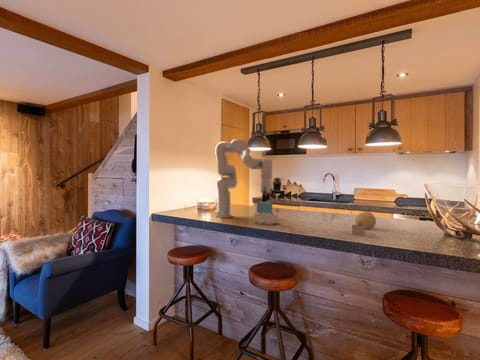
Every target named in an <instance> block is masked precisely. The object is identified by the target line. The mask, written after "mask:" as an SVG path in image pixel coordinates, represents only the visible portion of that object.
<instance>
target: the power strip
mask: <svg viewBox="0 0 480 360" xmlns="http://www.w3.org/2000/svg"><path fill="white" fill-rule="evenodd" d="M272 213H273V214H271V213H262V214H261V213H260V212H257V211H256V212H254V214H253V215H254V218H253V219H254V221H253V222H267V223H276V224H277V223H278V222H279V213H278V212H272Z"/></svg>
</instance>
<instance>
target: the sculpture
mask: <svg viewBox="0 0 480 360" xmlns="http://www.w3.org/2000/svg"><path fill="white" fill-rule="evenodd" d="M359 222H362V225H364V226H365V230H366V229H367V230H372V229H373V228H375V226H376V224H377V217H375V215H374V214H373V213H372V212H370V211H363V212H359V213H358V214H357V216H356V217H355V225H359Z"/></svg>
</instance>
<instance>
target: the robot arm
mask: <svg viewBox="0 0 480 360" xmlns="http://www.w3.org/2000/svg"><path fill="white" fill-rule="evenodd" d="M248 145H249V144H248V143H247V140H243V139H239V138H238V139H237V138H236V139H232V140H231V142H229V141H220V142H219V143H217V145H216V146H215V157H216V165H217V173H218V175H219V176H221V177H220V178H218V180H217V181H216V185H217V192H218V210H214V211H213V212H214V214H216V217H217V218H222V219H223V218H231V217H233V214H232V213H231V192H230V190H231V189H235V188H236V187H237V184H238V180H237V179H238V178H237V177H238V176H237V170H236V167H235V166H234V165H233V164H231V163H229V162H228V161H229V160H228V157H227V155H226V153H227V154H238V155H239V156H240V157H241V160H242V163H243V164H244V165H245V166H246V167H248V168H249V169H251V170H260V179H261V185H260V186H261V187H260V193H262V194H261V202H268V201H270V197H271V195H270V194H271V193H270V192H271V180H272V178H273V160H272V159H270V158H269V159H266V158H264V159H262V158H253V156H251V155H250V153H251V148H249V147H248Z"/></svg>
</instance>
